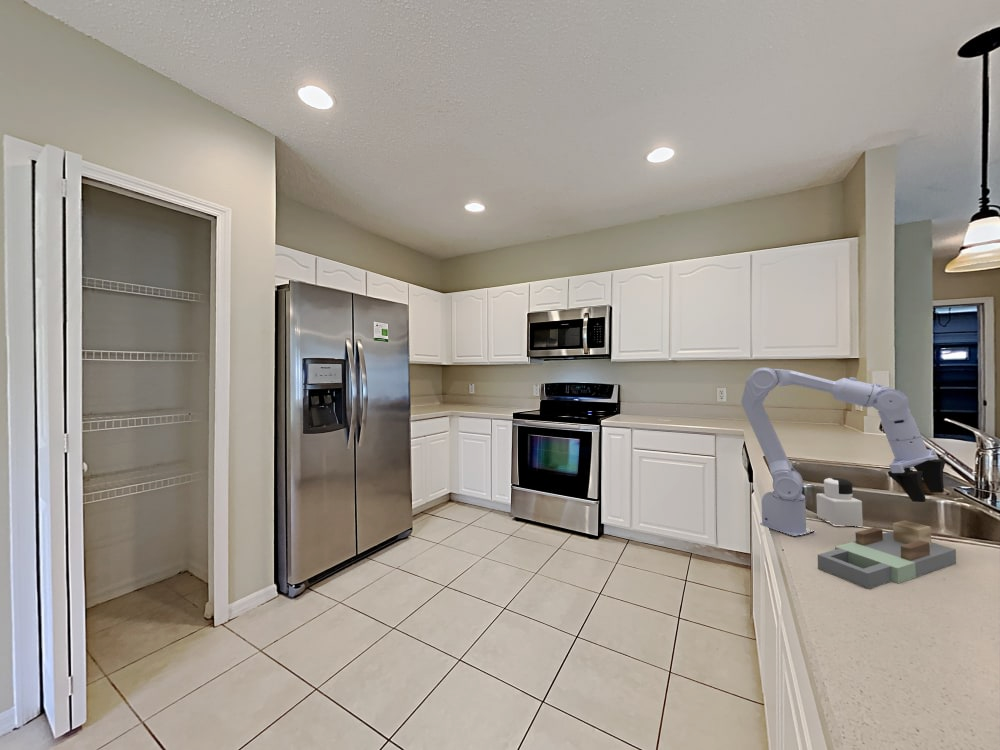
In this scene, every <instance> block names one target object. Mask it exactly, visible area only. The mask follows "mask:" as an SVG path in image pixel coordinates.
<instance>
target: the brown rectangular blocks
mask: <svg viewBox="0 0 1000 750" xmlns="http://www.w3.org/2000/svg"><path fill="white" fill-rule="evenodd" d="M883 532H884V531H883V529H881V528H877V527H875V526H873V527H871V528H867V529H862V530H859V531H856V532H855V541H856V543H857V544H860V545H863V546H865V545H868V544H872V543H876V542H879V541H883ZM927 555H930V545H929V543H928V542H924V541H921V540H919V541H916V542H912V543H909V544H906V545H902V546H901V558H903V559H906V560H909V561H912V560H915V559H918V558H921V557H924V556H927Z"/></svg>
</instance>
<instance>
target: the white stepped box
mask: <svg viewBox="0 0 1000 750" xmlns="http://www.w3.org/2000/svg"><path fill="white" fill-rule="evenodd" d="M853 490H854V489H853V483H852V482H851V481H849V480H848V479H844V478H840V477H838V478H837V477H828V478H825V479H823V491H824V493H816V517H817V516H819V517H820V518H823V519H824V518H825V519H827V520H828V521H830V522H831V523H833V524H835V525H847V526H855V527H854V528H857V527H856V526H864V524H863V523H864V521H863V519H864V518H863V501H862V500H860V499H857V498H855V497H853V495H854V494H853V492H854V491H853Z"/></svg>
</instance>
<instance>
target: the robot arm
mask: <svg viewBox="0 0 1000 750" xmlns="http://www.w3.org/2000/svg"><path fill="white" fill-rule="evenodd" d="M778 385H779V387H787V386H791V385H794V386H799V387H804V388H807V389H812V390H816V391H822V392H824V393H825V392H826V393H830V394H831V396H832V397H833V399H835V400H836V401H840V402H843V403H848V404H852V405H857V406H859V407H864V408H870V407H871V408H872V407H873V408H874V409H875V410H877V413H878V416H879V418H880V423H881V426H882V428H883V429H882V430H883V432H884V433H885V436H886V439H887V442H888V443H889V447H890V448H891V452H892V453H893V456H894V458H893V461H892V462H890V464H888V467H889V469H890V470H889V471H887V474H888V477H890V478H891V479H892V480H893V481H895V482H896V483H897V484H898V485H899V486H900V487H901V488H902V490H903V491H904V493H906V494H907V496H908V497H909V499H910V500H911V501H912V502H913V503H917V502H918V503H924V502H926V494H925V490H924V487H923V482H924V484H925V485H926V488H927V489H928V490H929V492H930V493H936V494H938V493H939V494H940V493H941V494H942V493H944V492H945V488H944V487H945V486H944V485H945V484H944V470H945V465H946V460H945V458H944V459H943V458H939V456H938V455H937V452H936V450H935V449H932V448H931V449H927V446H926V444H925V441H924V439H923V437H922V434H921V432H920V429H919V427H918V425H917V422H916V420H915V417H914V416H913V415H912V412H911V409H910V408H909V406H910V405H909V404H910V400H909V397H907V396H906V395H905V393H903V392H902V391H900V390H898V389H895V388H891V387H889V386H884V387H883V384H882V383H881V384H880V383H876V384H872V383H868V382H864V381H859V380H858V378H857V377H854V376H853V377H852V376H851V377H849V378H847V377H842V378H839V379H837V380H835V381H834V380H831V379H827V378H822V377H820V376H819V377H818V376H815V375H811V374H808V373H802V372H799V371H795V370H791V369H781V368H780V369H779V368H771V367H758V368H755V369H754V370H753V371H752V372H750V375H748V377H747V378H746V379H745V384H744V389H743V393H742V397H741V400H740V402H741V406H742V408H743V410H744V412H745V415H746V418H747V419H748V422H749V425H750V426H751V428H752V432H754V435H755V437H756V439H757V442H758V444H759V446H760V449H761V450H762V453H763V456H764V457H765V459H766V462H767V464H768V468H769V471H770V475H771V477H772V489H773V490H772V491H768V492H765V494H764V495H762V498H761V522H760V524H759V525H760V526H762V527H765V528H769V529H772V530H774V531H777V532H779V531H780V532H779V533H782V532H784V533H783V534H785V533H787V534H786V535H788V534H790V535H793V536H797V535H800V534H804V533H808V532H811V530H810V531H808V532H807V530H806V528H807V512H806V510H807V509H806V496H805V495H804V494H803V484H804V480H803V476H802V475H801V474H800V472H798V471H797V470H796V469H795V468H794V466H793V464H792V463H791V461H790V460H789V458H788V456H787V453H786V452H785V450H784V447H783V445H782V444H781V441H780V439H779V437H778V434H777V433H776V430H775V428H774V426H773V424H772V421H771V419H770V417H769V415H768V413H767V410H766V408H765V406H764V404H763V403H764V401H766V398H767V396H768V395H769V393H770V392H771V391H773V389H775V388H776V387H777V386H778ZM911 468H914V469H915V470H913V469H911ZM813 530H814V529H812V531H813ZM790 535H789V536H790ZM793 536H792V537H793ZM797 537H798V536H797Z"/></svg>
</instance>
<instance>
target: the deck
mask: <svg viewBox="0 0 1000 750" xmlns="http://www.w3.org/2000/svg"><path fill="white" fill-rule="evenodd" d="M902 545H906V544H903V543H900V542H897V541H894V538H893V530H890V531H888V532H884V533H883V541H879V542H876V543H872V544H868V545H865V546H863V545H860V544H857V543H856V540H854V541H851V542H848V543H843V544H839V545H837V546H834V549H832V550H830V551H829V550H828V551H826V552H821V553H818V554H817V569H818V570H820V571H823V572H826V573H829V574H831V575H833V576H835V577H838V578H840V579H844V580H845V581H848V582H851V583H853V584H855V585H858V586H860V587H863V588H865V589H868V590H870V589H874V588H875V587H878V586H880V585H885V584H887V583H890V582H894V583H896V584H900V583H903V582H905V581H909V580H911V579H914V578H917V577H920V576H923V575H926V574H929V573H932V572H935V571H937V570H940V569H943V568H946V567H950V566H952V565H955V564H957V551H956V549H955V548H952V547H949V546H945V545H942V544H938V543H934V542H931V545H930V555H927V556H924V557H921V558H918V559H915V560H912V561H909V560H906V559H903V558H901V546H902Z"/></svg>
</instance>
